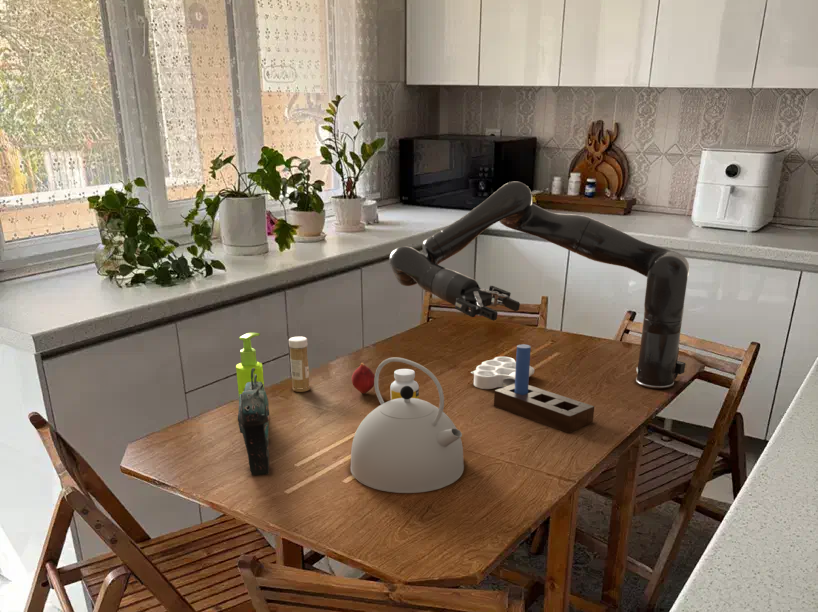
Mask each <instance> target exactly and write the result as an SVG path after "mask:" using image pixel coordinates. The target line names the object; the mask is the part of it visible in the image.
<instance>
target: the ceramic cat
mask: <svg viewBox="0 0 818 612" xmlns="http://www.w3.org/2000/svg"><path fill="white" fill-rule="evenodd" d="M254 371H255V368H252V369H251V382H247V383H246V385H245V388H244V391H243V392H242V394H240V395H239V394H238V410H237V411H238V412H237V422H238V428H239V433H240V434H242V437H243V441H244V444H245V448H246V453H247V459H248V466H249V472H250V475H251V476H263V475H269V474H270V446H269V428H270V427H269V421H270V420H271V417H270V416H271V415H270V408H269V407H270V406H269V398H268V395H267V392H266V389H265V383H264V384H263V383H262V382H256V380H257V375H256V374H255V375H254V382H253V372H254ZM263 385H264V386H263Z"/></svg>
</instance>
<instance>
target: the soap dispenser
mask: <svg viewBox="0 0 818 612" xmlns="http://www.w3.org/2000/svg"><path fill="white" fill-rule="evenodd" d="M260 335H261V333H259V332H253V331H251V332H247V333H245V334H243V335H241V336H239V341H242V343H243V344H242V345H243V346H242V347H243V348H242V349H240V351H239V355H240V362H239V363H237V364H236V365H235V371H236V382H237V390H238V391H237V392H238V393H237V394H238V396H239V395H240V394H242V392H243V391H244V388H245V385H246V383H247V382H251V369H252V368H255V371H254V372H253V382H254V375H255V374H256V375H257V380H256V382H262V383H263V384H264V385H263V386H264V387H265V380H264V379H265V378H264V367H263V366H264V365H263V363H262V362H259V361H258V360H257V351H256V348H254V347H252V339H253V338H255V337H259V336H260Z"/></svg>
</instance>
